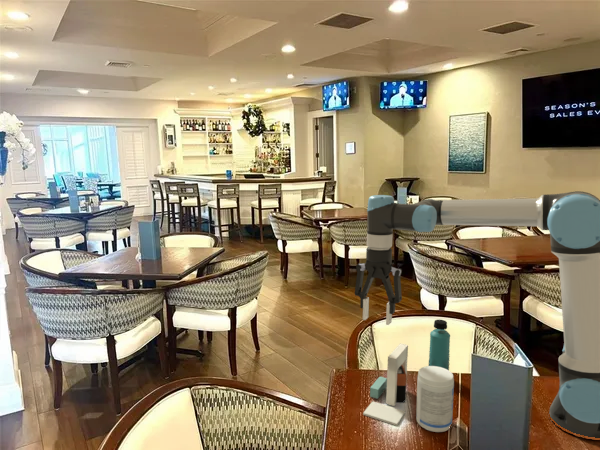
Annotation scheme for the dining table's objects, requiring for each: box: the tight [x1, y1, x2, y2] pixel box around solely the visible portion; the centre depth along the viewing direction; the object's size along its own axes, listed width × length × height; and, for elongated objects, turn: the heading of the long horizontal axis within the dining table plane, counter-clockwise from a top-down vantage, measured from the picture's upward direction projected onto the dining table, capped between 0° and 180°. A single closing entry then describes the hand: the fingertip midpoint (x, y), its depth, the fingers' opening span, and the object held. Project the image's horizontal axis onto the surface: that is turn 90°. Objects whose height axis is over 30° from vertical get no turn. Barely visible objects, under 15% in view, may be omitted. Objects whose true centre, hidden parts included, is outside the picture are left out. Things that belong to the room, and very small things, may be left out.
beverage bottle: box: [428, 319, 451, 371], centre depth 146 cm, size 6×7×20 cm
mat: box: [362, 400, 406, 427], centre depth 128 cm, size 10×7×1 cm
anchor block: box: [369, 376, 387, 400], centre depth 139 cm, size 2×8×3 cm, turn 149°
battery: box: [396, 365, 408, 404], centre depth 136 cm, size 4×7×10 cm, turn 178°
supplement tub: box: [415, 365, 455, 433], centre depth 122 cm, size 10×10×15 cm
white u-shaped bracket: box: [385, 343, 409, 407], centre depth 135 cm, size 2×11×15 cm, turn 149°
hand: (377, 320), depth 136 cm, fingers open, 7 cm apart
